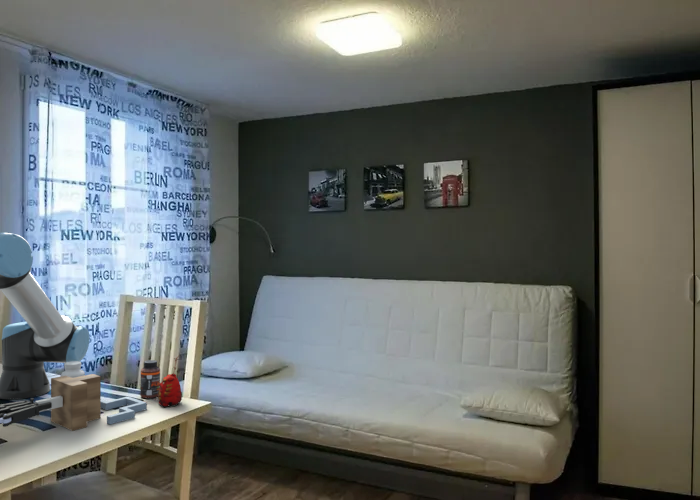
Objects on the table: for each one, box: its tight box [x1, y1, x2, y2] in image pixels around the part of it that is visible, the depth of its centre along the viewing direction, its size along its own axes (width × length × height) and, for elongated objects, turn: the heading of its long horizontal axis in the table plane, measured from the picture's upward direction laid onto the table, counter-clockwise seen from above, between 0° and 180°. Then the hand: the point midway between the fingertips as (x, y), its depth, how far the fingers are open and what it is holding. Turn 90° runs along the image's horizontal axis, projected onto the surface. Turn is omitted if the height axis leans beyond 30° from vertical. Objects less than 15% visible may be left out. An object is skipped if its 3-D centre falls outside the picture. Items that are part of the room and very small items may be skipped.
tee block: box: [50, 373, 102, 432], centre depth 158 cm, size 12×10×12 cm
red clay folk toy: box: [157, 354, 183, 408], centre depth 175 cm, size 8×7×15 cm
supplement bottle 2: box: [139, 359, 161, 399], centre depth 183 cm, size 6×6×11 cm
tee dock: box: [101, 395, 148, 425], centre depth 167 cm, size 18×14×2 cm
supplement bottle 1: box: [60, 361, 86, 378], centre depth 173 cm, size 7×7×13 cm
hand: (61, 401), depth 154 cm, fingers closed
